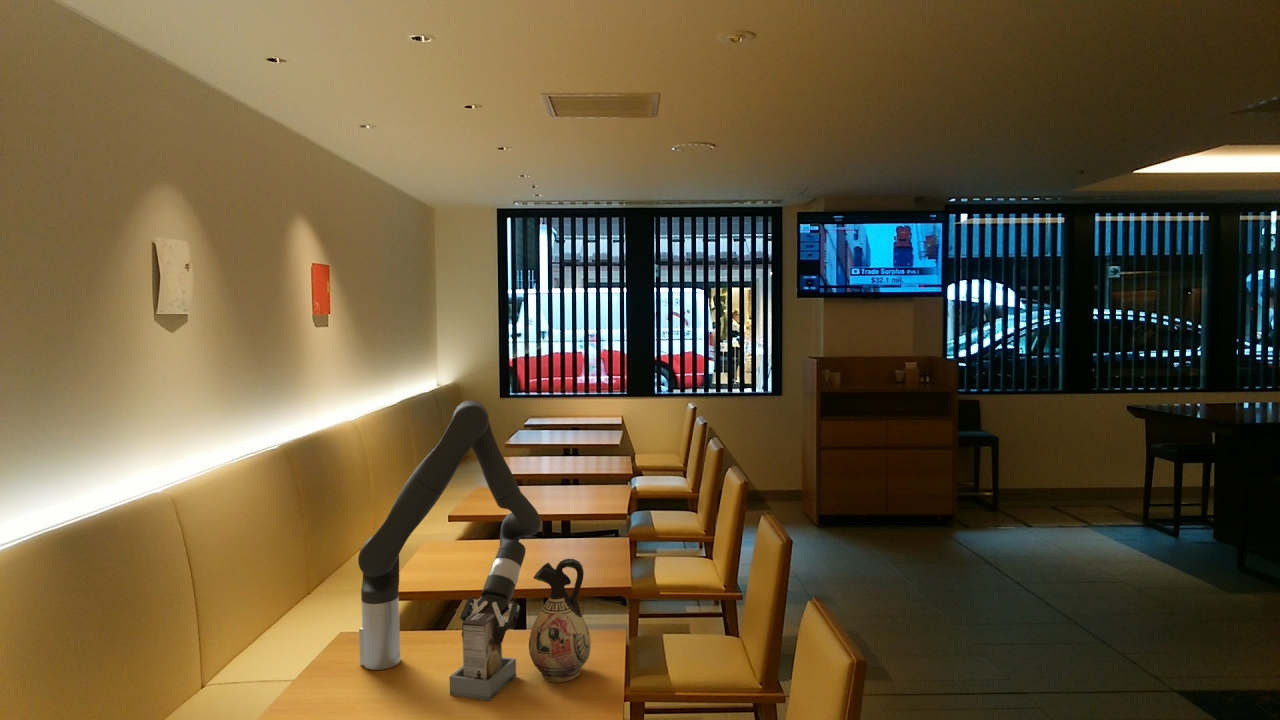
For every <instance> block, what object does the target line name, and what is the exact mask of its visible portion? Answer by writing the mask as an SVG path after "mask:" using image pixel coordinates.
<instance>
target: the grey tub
mask: <svg viewBox="0 0 1280 720" xmlns="http://www.w3.org/2000/svg"><path fill="white" fill-rule="evenodd" d="M516 659H517V658H511V657H504V656H502V669H500V670H499V671H498V672H497V673H496V674H495V675H494V676H492V677H491V678H490V679H489V680H481V679H474V678H467V677H464V669H463V665H462V666H461V667H459V668H458V669H457V670H456V671H455V672H454V673H452V674H451V675H449V696H452V697H453V696H454V697H460V698H461V697H462V698H466V699H467V698H468V699H475V700H480V701H487V702H490V701H492V700H493V699H492V698H495V697H496V696H497V695H498V694H499V693H500V692H501V691H503V689H504V688H505V687H506V685H509V684H510V683H511V682H512V681H513V680H514V679H515V678H516V677H517V663H516V662H517V660H516ZM509 682H510V683H509ZM508 683H509V684H508Z"/></svg>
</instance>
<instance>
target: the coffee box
mask: <svg viewBox="0 0 1280 720" xmlns="http://www.w3.org/2000/svg"><path fill="white" fill-rule="evenodd" d="M471 614H472V613H471ZM498 627H500V624H499V622H498V619H497V617H496V614H494V613H487V612H479V613H474V614H472V615H471V616H470V617H469V618H468V619H466V620H465V621H464V622H463V621H462V623H461V631H462V632H461V636H462V635H463V638H462V659H463V660H462V661H463V663H462V666H463V669H464V677H467V678H474V679H481V680H489V679H490V678H491V677H492V676H494V675H495V674H496V673H497V672H498V671H499V670H500V669H502V657H503V655H502V653H503V649H502V647H503V646H502V643H503V642H502V643H500V645H496V644H495V643H494V638H495V635H496V632H497V629H498Z"/></svg>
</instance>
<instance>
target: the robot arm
mask: <svg viewBox="0 0 1280 720" xmlns="http://www.w3.org/2000/svg"><path fill="white" fill-rule="evenodd" d="M489 419H490V417H489V412H488V410H487V409H486V407H485V406H484V405H483V404H482V403H481V402H480V401H479V402H478V401H476V400H470V399H469V400H465V401H462V402H460V404H458V405H457V406H456V408H455V409H454V411H453V414H452V417H451V421H450V422H449V424H448V426H447V428H446V430H445V431H444V433H443V435H442V436H441V438H440V440H439V442H438V443H437V444H436V446H435V447H434V448H433V449H431V451H430V452H429V453H428V454H427V455H426V456H425V457H424V458H423V460H422V461H421V462H420V463H419V465H417V466H416V468H415V469H414V471H412V474H411V475H410V476H409V478H408V479H407V480H406V482H405V484H404V486H403V487H402V489H401V490H400V492H399V494H398V496H397V498H396V499H395V501H394V503H393V505H392V507H391V509H390V511H389V513H388V514H387V516H386V519H385V520H384V522H382V525H381V526H380V527H379V528H378V529H377V531H376V532H375V534H374V535H372V536H371V537H369V538H367V539H366V541H365V542H364V543H363V545H362V547H361V548H360V550H359V552H358V558H357V559H358V560H357V561H358V567H359V570H360V571H361V573H362V584H361V590H360V592H361V594H360V596H361V597H360V598H361V621H362V623H361V625H362V627H360V628H359V629H358V635H359V636H358V637H359V638H358V639H359V665H360V666H363V667H364V668H365V669H367V670H371V671H372V670H374V671H377V670H378V671H379V670H387V669H390V668H394V667H395V666H397V665H398V664H399V663H400V662H401V637H400V635H401V633H400V632H401V630H400V629H401V628H400V602H399V600H400V598H399V597H400V596H399V595H400V593H399V592H400V591H399V590H400V589H399V586H400V554H401V551H402V549H403V547H405V544H406V542H407V541H408V539H409V538H410V536H411V534H412V533H413V532H414V531H415V529H416V528H417V527H418V526H419V525H420V524H421V523H422V521H423V520H424V519H425V517H426V516H427V515H428V514H429V513H430V511H431V510H432V509H433V507H434V506H436V505H435V504H436V503H437V502H438V500H440V498H441V496H442V494H443V493H444V492H445V489H446V488H447V487H448V485H449V483H450V482H451V480H452V478H453V476H454V475H455V473H456V471H457V469H458V467H459V465H460V463H461V461H462V460H463V459H464V458H465V456H466V455H467V453H468V452H469V451H470V449H472V450H473V452H474V455H475V456H476V458H477V460H478V463H479V466H480V469H481V472H482V474H483V477H484V480H485V481H486V484H487V487H488V489H489V491H490V492H491V495H492V498H493V499H494V501H495V503H496V505H497V506H498V508H500V509H503V510H508V511H510V513H508V514H507V515H506V516H505V517H504V519H503V520H502V523H501V526H500V535H499V537H500V538H499V547H498V550H497V553H496V555H495V558H494V561H493V562H492V565H491V567H490V570H489V571H488V574H487V577H486V580H485V583H484V585H483V588H482V591H481V595H480V597H479V599H474V598H472V597H471V596H469V597H468V598H467V600H466V602H465V604H464V606H463V609H462V612H461V614H460V616H459V619H460V620H461V621H462V623H463V622H464V621H465V620H466V619H468V618H469V617H470V616H471V615H472V614H474V613H479V612H487V613H494V614H496V617H497V619H498V622H499V624H500V627H498V629H497V632H496V635H495V638H494V643H495V644H496V645H500V643H503V642H504V638H505V635H506V632H507V631H508V630H515V629H516V626H517V622H518V618H519V614H520V610H521V607H520V605H519V604H518V602H516V601H513V603H511V600H512V598H513V596H514V592H515V590H516V586H517V583H518V582H519V581H518V580H519V577H520V571H521V567H522V565H523V563H524V559H525V556H526V547H525V545H524V544H523V543H522V542H520V539H521V538H527V537H531V536H536V535H537V534H538V533H539V532H540V530H541V525H542V524H541V523H542V521H541V518H540V515H539V512H538V511H537V509H536V508H535V506H534V505H533V504H532V503H531V502H530V500H529V499H527V497H526V496H525V495H524V494H523V492H521V489H520V487H519V484H518V483H517V480H516V478H515V476H514V474H513V473H512V471H511V468H510V467H509V465H508V464H507V461H506V460H505V458H504V456H503V454H502V452H501V450H500V448H499V446H498V444H497V441H496V438H495V436H494V433H493V431H492V427H491V424H490V420H489ZM476 607H477V608H476ZM508 611H509V616H508V618H507V621H506V617H505V613H506V612H508ZM461 637H462V639H463V635H462V634H461Z"/></svg>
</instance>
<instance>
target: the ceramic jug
mask: <svg viewBox="0 0 1280 720" xmlns="http://www.w3.org/2000/svg"><path fill="white" fill-rule="evenodd" d="M565 568H571V569H573V570H575V571H576V579H575V584H574V587H573V589H572V592H571V594H570V596H569V595H568V593H567V591H566V588H565V587H566V586H568V585H571V584H572V580H571V579H570V577H569V576H568V575H567V574H565V572H563V569H565ZM533 579H534V580H535V581H539V582H543V583H545V584H548V585H549V587H550V589H551V592H550V595H549V596H548V599H547V600H546V601H545V603H544V604H543V606H542V608H540V611H539V612H538V614H537V616H536V618H535V620H534V621H533V624H532V627H531V630H530V635H529V639H528V652H529V653H528V654H529V656H530V659H531V661H532V663H533V665H534V666H535V668H536V669H537V670H538V671H539V672H540V673H541V677H542V679H543V678H544V679H543V680H545V681H547V682H550V683H564V682H565V683H566V682H569V681H572V680H574V679H576V678H578V677H579V676H580V675H581V669H582V668H583V667H584V665H585V664H586V663H587V660H589V656H590V653H591V648H592V647H591V646H592V645H591V644H592V642H591V637H590V636H591V634H590V631H589V627H588V625H587V622H586V621H585V619H584V617H583V616H582V612H581V609H580V604H579V602H578V596H579V594H580V591H581V588H582V583H583V581H584V568H583V565H582V563H581V562H580V561H579V560H576V559H575V558H566V559H563V560H561V561H559V563H558V564H557V565H556V567H555V568H554V567H553V565H551V564H550V562H547V563H545V564H544V565H542V566H541V568H540V569H538V570H537V572H535V574H534V576H533Z"/></svg>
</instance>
